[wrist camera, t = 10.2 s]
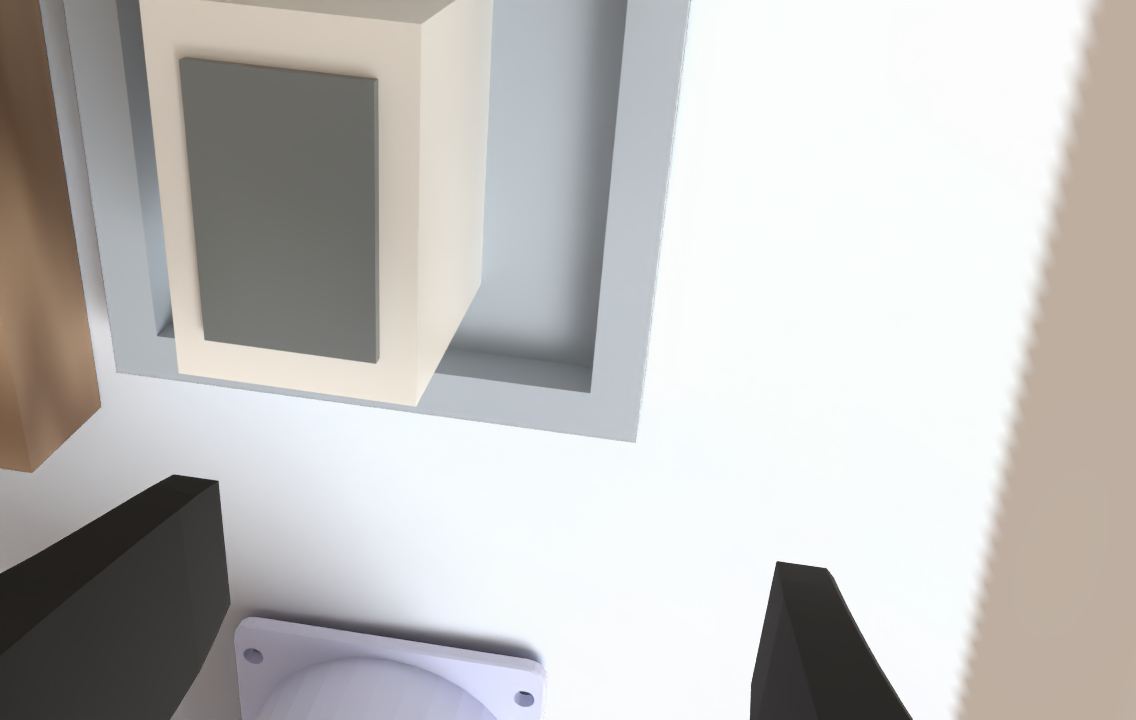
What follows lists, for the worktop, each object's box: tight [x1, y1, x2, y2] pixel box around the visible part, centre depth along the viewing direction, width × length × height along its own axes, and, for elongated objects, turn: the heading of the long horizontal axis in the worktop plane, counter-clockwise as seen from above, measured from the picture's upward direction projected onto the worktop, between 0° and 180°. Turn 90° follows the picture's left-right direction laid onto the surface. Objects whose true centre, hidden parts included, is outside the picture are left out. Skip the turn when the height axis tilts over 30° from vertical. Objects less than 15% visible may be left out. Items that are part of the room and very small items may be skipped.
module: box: [139, 0, 493, 407], centre depth 18 cm, size 6×4×5 cm, turn 175°
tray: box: [63, 0, 691, 443], centre depth 20 cm, size 11×11×2 cm
